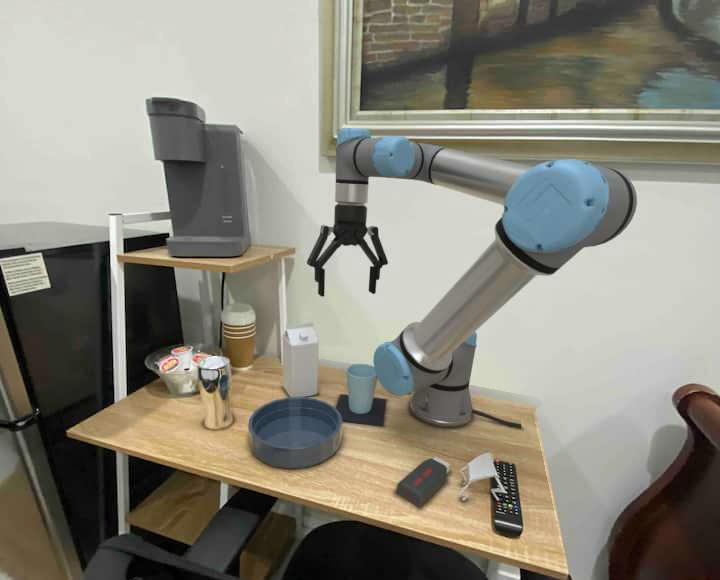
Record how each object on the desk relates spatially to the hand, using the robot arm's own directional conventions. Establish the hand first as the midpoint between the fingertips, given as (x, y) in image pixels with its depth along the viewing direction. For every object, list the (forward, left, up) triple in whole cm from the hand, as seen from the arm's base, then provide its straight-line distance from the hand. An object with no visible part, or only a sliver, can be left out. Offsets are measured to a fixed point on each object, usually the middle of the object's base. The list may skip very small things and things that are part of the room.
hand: (347, 293), depth 97 cm
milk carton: (+11, +4, -27) cm, 29 cm away
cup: (-6, +10, -26) cm, 29 cm away
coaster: (-6, +10, -27) cm, 29 cm away
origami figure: (-32, +32, -27) cm, 53 cm away
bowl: (+6, +25, -27) cm, 37 cm away
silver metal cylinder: (+25, +22, -27) cm, 43 cm away
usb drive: (-22, +33, -27) cm, 48 cm away
